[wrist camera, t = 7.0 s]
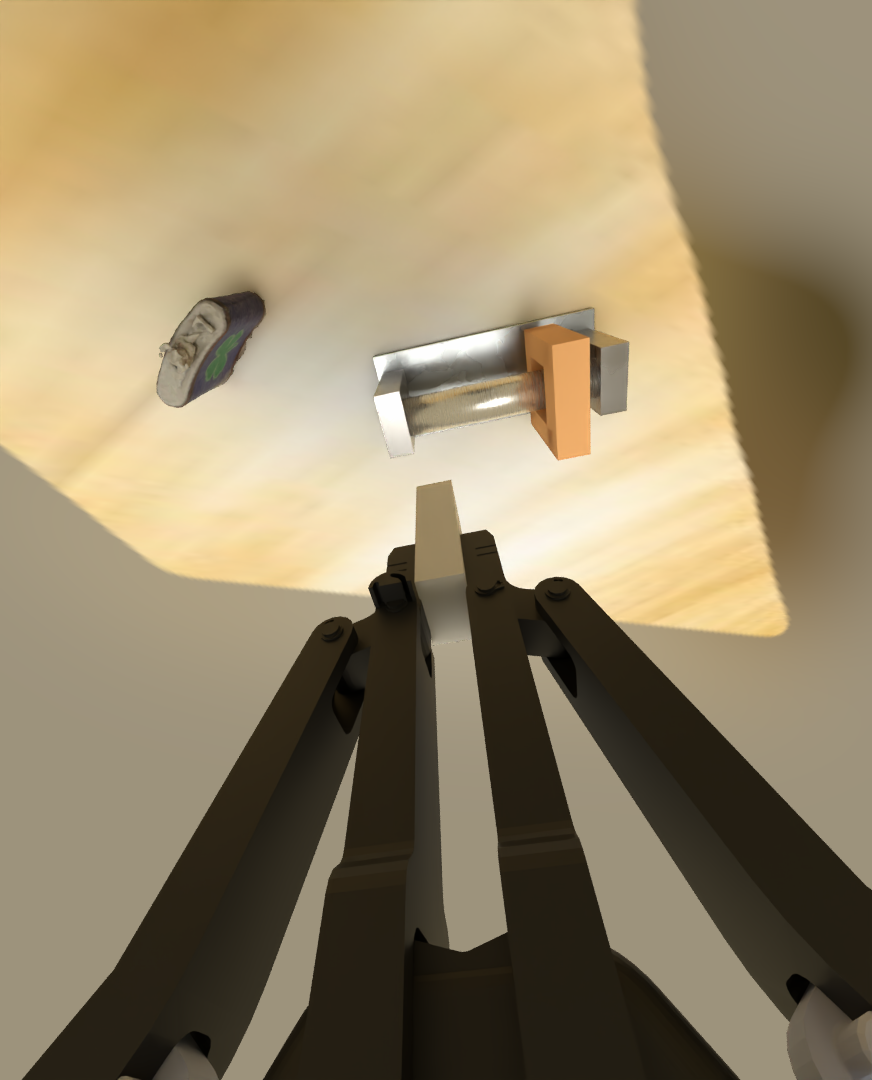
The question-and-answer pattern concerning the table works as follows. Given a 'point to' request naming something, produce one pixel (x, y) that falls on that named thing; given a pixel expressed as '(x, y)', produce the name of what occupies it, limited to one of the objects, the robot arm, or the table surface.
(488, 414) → the pipe rail
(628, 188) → the table surface
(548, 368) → the orange square ring
